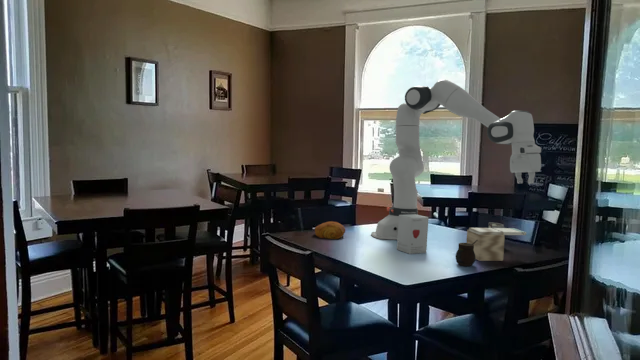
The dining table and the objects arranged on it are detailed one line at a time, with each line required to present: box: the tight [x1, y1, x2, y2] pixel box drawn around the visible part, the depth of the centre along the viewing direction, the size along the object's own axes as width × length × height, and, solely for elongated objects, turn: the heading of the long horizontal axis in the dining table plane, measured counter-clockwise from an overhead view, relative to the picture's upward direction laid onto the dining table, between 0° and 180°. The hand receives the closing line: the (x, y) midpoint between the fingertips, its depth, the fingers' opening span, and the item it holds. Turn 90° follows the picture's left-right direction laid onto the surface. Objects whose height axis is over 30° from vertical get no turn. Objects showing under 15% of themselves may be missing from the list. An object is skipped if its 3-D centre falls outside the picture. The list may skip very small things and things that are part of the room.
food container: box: [488, 221, 505, 228], centre depth 227 cm, size 12×6×10 cm, turn 168°
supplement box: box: [396, 214, 429, 255], centre depth 208 cm, size 9×9×15 cm
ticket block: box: [465, 227, 506, 262], centre depth 203 cm, size 10×12×11 cm
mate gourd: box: [455, 240, 478, 267], centre depth 188 cm, size 7×8×10 cm
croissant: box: [314, 220, 346, 240], centre depth 236 cm, size 14×16×8 cm
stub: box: [494, 227, 527, 236], centre depth 204 cm, size 10×9×1 cm
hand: (525, 183), depth 206 cm, fingers open, 8 cm apart
